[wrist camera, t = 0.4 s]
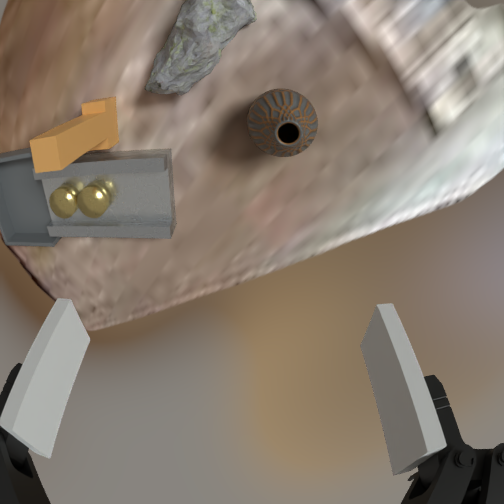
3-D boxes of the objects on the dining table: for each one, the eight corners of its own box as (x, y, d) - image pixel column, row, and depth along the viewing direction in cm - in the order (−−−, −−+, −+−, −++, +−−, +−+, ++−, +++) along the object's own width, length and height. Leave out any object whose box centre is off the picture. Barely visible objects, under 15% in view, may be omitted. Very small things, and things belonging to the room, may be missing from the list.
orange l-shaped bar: (93, 99, 29) (27, 126, 18) (115, 96, 29) (53, 120, 18) (97, 143, 32) (38, 186, 21) (119, 141, 32) (64, 184, 22)
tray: (-7, 155, 31) (-19, 162, 29) (42, 145, 31) (30, 152, 29) (15, 234, 39) (6, 245, 37) (62, 235, 39) (53, 246, 37)
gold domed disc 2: (81, 182, 33) (74, 188, 31) (109, 180, 33) (102, 187, 31) (87, 210, 35) (80, 218, 33) (114, 210, 35) (108, 218, 34)
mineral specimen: (205, 108, 31) (195, 118, 25) (148, 84, 29) (126, 90, 23) (274, -8, 23) (280, -25, 17) (214, -32, 21) (205, -53, 15)
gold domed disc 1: (54, 184, 33) (46, 190, 31) (78, 182, 33) (71, 188, 31) (60, 211, 35) (53, 218, 33) (84, 210, 35) (77, 218, 33)
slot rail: (46, 158, 33) (32, 168, 30) (171, 148, 33) (163, 157, 30) (61, 223, 38) (49, 236, 35) (176, 224, 39) (170, 238, 36)
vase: (287, 74, 29) (300, 78, 21) (321, 125, 32) (343, 145, 25) (234, 109, 31) (229, 124, 24) (270, 157, 34) (277, 186, 27)
